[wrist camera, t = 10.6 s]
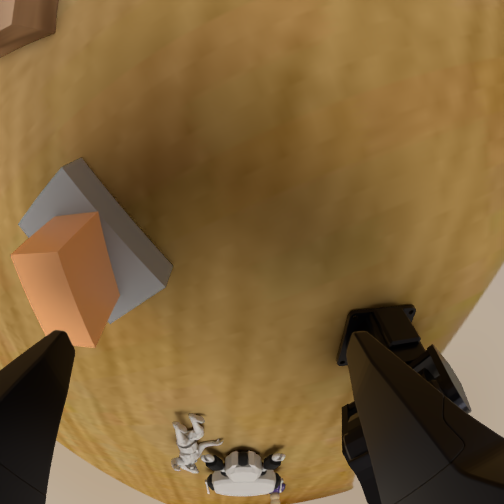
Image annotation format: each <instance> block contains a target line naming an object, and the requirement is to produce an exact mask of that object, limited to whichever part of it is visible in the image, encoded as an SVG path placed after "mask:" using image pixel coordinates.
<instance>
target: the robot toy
mask: <svg viewBox="0 0 504 504" xmlns="http://www.w3.org/2000/svg"><path fill="white" fill-rule="evenodd" d="M284 458H285V454H279V453H275V454H271V455H269V456H268V457H266V458H265V459H264V463H263V466H262V463H261V457H260V456H259V455H257V454H256V453H255V452H253V451H248V452H237V451H235V452H232V453H230V455H228V456H227V457H226V458H225V467H224V465H223V461H222V460H221V459H220V458H219V457H217V456H216V455H211V454H208V455H206V456H205V455H202V456H201V459H202V461H203V462H205V463H206V466H207V467H208V468H210V469H211V470H213V471H214V473H213V474H210V475H209V477H208V478H207V480H205V484H206V486H207V491H208V494H209V488H208V486H209V487H210V488H211V489H212V490H215V492H216V493H218V494H221V495H228V496H256V495H264V494H268V493H271V492H273V491H274V489H277V488H278V486H279V485H280V490H279V491H280V493H281V488H282V483H283V478H281V477H280V476H279V475H278V474H277V473H274V471H273V470H274V469H276V468H277V467H278V466H280V465H281V461H282V460H284Z"/></svg>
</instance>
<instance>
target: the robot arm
mask: <svg viewBox="0 0 504 504" xmlns="http://www.w3.org/2000/svg"><path fill="white" fill-rule="evenodd" d="M410 310H411V311H410ZM415 312H416V309H415V307H414V306H413V305H405V306H396V307H386V308H375V309H363V310H354V311H351V312H350V313H349V315H348V318H347V322H346V326H345V330H344V334H343V338H342V342H341V345H340V349H339V353H338V356H337V360H336V361H337V364H338V365H339V366H345V365H348V367H349V373H350V378H351V384H352V390H353V396H354V400H355V401H354V402H352V403H350V404H347V405H345V406H343V407H342V453H343V455H344V456H345V458H346V460H347V462H348V465H349V466H350V467H351V469H352V470H353V471H354V473H355V474H356V476H357V478H358V480H359V481H360V483H361V486H362V488H363V491H364V494H365V497H366V500H367V502H368V504H504V438H503V437H501V436H500V435H498V434H497V433H495V432H494V431H492V430H491V429H489V428H488V427H486V426H485V425H483V424H481V423H480V422H479V421H477V420H476V419H474V418H473V417H472V416H470V415H469V414H468V413H470V412H471V408H470V405H469V402H468V400H467V397H466V395H465V392H464V390H463V387H462V385H461V383H460V381H459V379H458V378H457V376H456V374H455V373H454V371H453V369H452V368H451V366H450V365H449V363H448V362H447V361H446V360H445V359H444V357H443V356H442V355H441V354H440V352H439V351H438V350H437V349H436V348H435V346H434V345H433V344H432V345H431V346H430V347H428V348H427V350H426V351H425V349H424V347H423V346H422V344H421V342H420V340H421V338H420V336H419V335H418V333H417V331H416V330H415V328H414V326H413V325H412V320H413V317H414V315H415ZM354 316H355V317H354ZM74 357H75V350H74V347H73V345H72V343H71V341H70V339H69V336H68V334H67V333H66V332H65V331H61V330H54V331H52V332H51V333H50V334H48V335H47V336H46V337H44V338H43V339H41V340H40V341H39V342H37V343H36V344H35V345H33V346H32V347H31V348H29V349H28V350H27V351H25V352H24V353H23V354H21V355H20V356H19V357H17V358H16V359H15V360H13V361H12V362H11V363H9V364H8V365H7V366H5V367H4V368H3V369H2V370H0V504H45V501H46V493H47V485H48V479H49V473H50V467H51V462H52V457H53V451H54V447H55V442H56V437H57V433H58V429H59V424H60V420H61V416H62V412H63V408H64V405H65V401H66V397H67V393H68V388H69V383H70V377H71V372H72V367H73V362H74Z"/></svg>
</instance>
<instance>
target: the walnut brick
mask: <svg viewBox="0 0 504 504" xmlns="http://www.w3.org/2000/svg"><path fill="white" fill-rule="evenodd" d="M57 8H58V0H0V57H2V56H4V55H6V54H8V53H10V52H12V51H14V50H16V49H18V48H20V47H23V46H25V45H27V44H29V43H32V42H34V41H36V40H39V39H41V38H44V37H46V36H49V35H51V34H54V33H55V30H56V18H57Z"/></svg>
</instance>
